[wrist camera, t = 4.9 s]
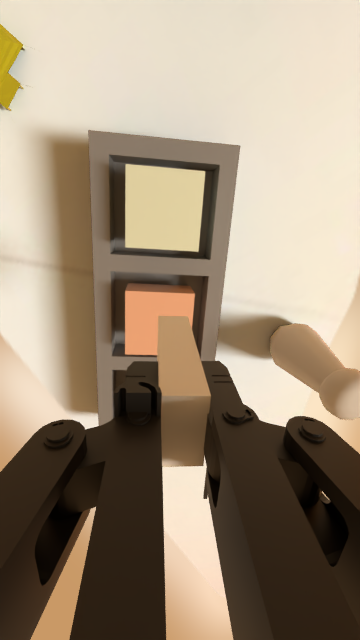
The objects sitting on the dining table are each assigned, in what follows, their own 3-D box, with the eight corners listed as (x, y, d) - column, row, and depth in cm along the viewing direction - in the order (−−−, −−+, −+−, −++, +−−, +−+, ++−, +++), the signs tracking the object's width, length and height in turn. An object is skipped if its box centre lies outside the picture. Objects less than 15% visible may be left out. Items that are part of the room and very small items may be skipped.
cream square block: (129, 171, 24) (125, 163, 21) (198, 177, 24) (205, 171, 21) (128, 244, 26) (125, 247, 23) (193, 248, 26) (198, 251, 23)
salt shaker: (267, 365, 36) (326, 440, 24) (259, 325, 34) (318, 385, 22) (311, 352, 36) (393, 420, 23) (305, 311, 34) (392, 362, 22)
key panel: (100, 146, 26) (88, 130, 22) (225, 158, 27) (240, 145, 23) (106, 413, 36) (99, 442, 31) (198, 413, 37) (205, 441, 33)
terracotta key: (128, 282, 27) (125, 290, 24) (190, 285, 28) (194, 293, 24) (128, 340, 29) (125, 354, 26) (185, 341, 29) (189, 355, 26)
